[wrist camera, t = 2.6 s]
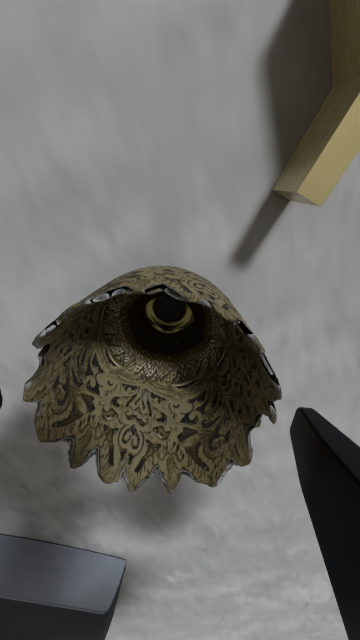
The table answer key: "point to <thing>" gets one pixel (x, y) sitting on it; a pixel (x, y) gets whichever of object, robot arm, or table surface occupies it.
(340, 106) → the khaki angled bracket
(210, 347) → the cup
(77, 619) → the external hard drive
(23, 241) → the table surface
